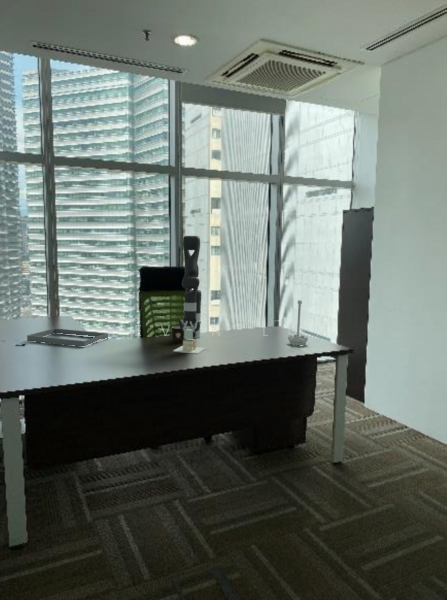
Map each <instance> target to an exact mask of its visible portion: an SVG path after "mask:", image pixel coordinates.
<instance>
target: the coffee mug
mask: <svg viewBox="0 0 447 600" xmlns="http://www.w3.org/2000/svg"><path fill="white" fill-rule="evenodd" d="M171 334H172V342H173V343H174V344H183V340H185V338H184V336H183V330H181V329H180V325H177V326H176V325H175V326H174V325H173V326H171Z"/></svg>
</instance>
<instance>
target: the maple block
mask: <svg viewBox="0 0 447 600" xmlns="http://www.w3.org/2000/svg"><path fill="white" fill-rule="evenodd" d="M196 341H197V339H196V338H193V339H185V338H184V339H183V342H182V346H183V350H185V351H193V350H195V349H196V347H197V346H196V345H197V344H196V343H197V342H196Z"/></svg>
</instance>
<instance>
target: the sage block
mask: <svg viewBox="0 0 447 600" xmlns="http://www.w3.org/2000/svg"><path fill="white" fill-rule="evenodd" d="M183 337H184V340H185V339H194V338H193V329H186V330H184V336H183Z"/></svg>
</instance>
